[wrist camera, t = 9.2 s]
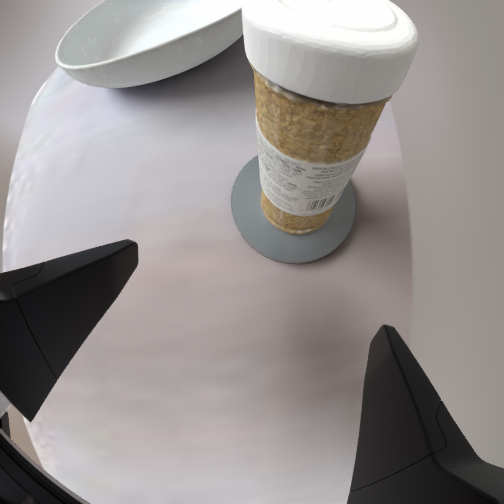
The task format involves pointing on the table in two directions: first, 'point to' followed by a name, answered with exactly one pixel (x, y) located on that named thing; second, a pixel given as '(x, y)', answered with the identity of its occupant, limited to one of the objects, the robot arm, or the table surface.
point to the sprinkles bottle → (319, 96)
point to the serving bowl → (146, 39)
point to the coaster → (282, 243)
